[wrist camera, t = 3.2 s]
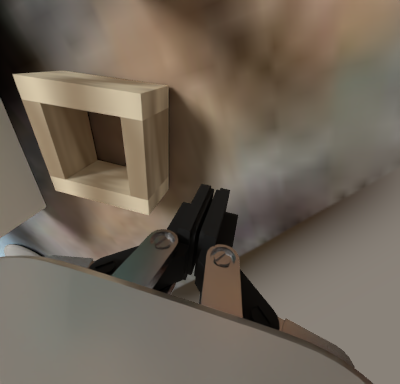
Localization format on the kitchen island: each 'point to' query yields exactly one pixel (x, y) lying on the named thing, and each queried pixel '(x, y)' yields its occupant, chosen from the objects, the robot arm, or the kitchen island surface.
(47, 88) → the light wooden square frame
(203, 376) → the robot arm
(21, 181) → the wall
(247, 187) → the kitchen island surface
